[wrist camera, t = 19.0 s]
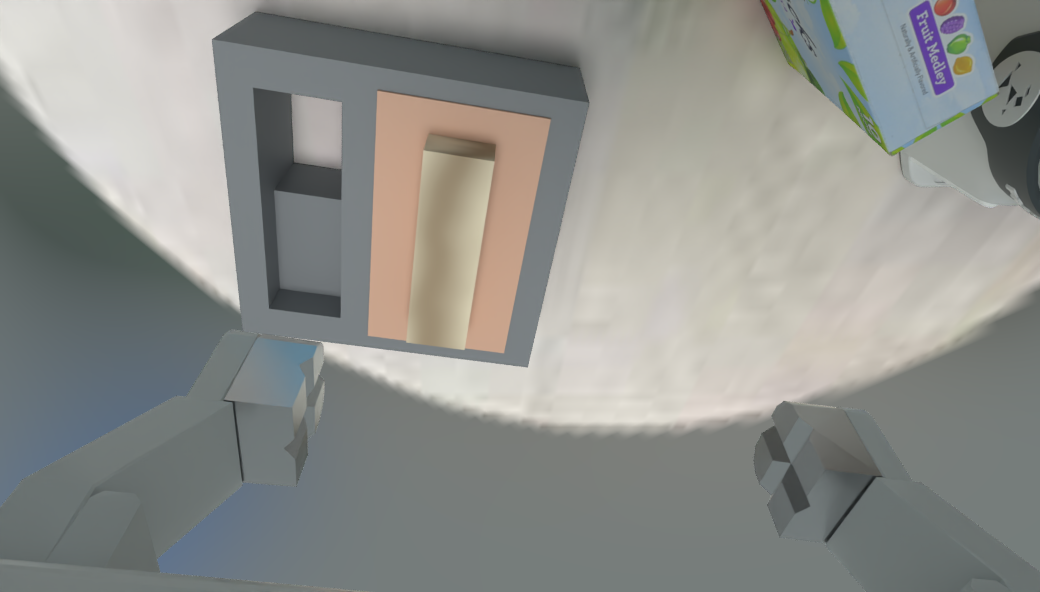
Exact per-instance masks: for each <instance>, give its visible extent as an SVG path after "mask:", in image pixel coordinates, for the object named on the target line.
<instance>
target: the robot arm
mask: <svg viewBox="0 0 1040 592" xmlns="http://www.w3.org/2000/svg"><path fill="white" fill-rule="evenodd" d="M974 1H975V5H976V8H977V12H978V15H979V19H980V23H981V26H982V30H983V34H984V37H985V41H986V45H987V48H988V52H989V56H990V59H991V63H992V66H993V70H994V73H995V77H996V80H997V84H998V87H999V92H1000V94H999V95H998V96H997V97H995V98H994V99H992V100H990V101H988V102H986V103H985V104H983V105H981V106H979V107H977V108H975V109H974V110H972V111H970V112H968V113H967V114H965V115H963V116H962V117H960V118H958V119H956V120H955V121H953V122H951V123H949V124H947V125H946V126H944V127H942V128H940V129H938V130H937V131H935V132H933V133H931V134H930V135H928V136H926V137H925V138H923V139H921V140H919V141H917V142H915V143H914V144H912V145H910V146H908V147H907V148H905V149H903V150H901V151H900V156H901V166H902V171H903V175H904V177H905V178H906V180H908V181H909V182H911V183H912V184H914V185H916V186H918V187H951V186H952V187H953V188H955V189H956V190H958V191H959V192H961V193H963V194H964V195H966V196H967V197H969V198H970V199H972V200H974V201H975V202H977V203H978V204H980V205H983V206H985V207H989V208H994V207H996V206H997V205H1003V206H1015V205H1019V206H1020V207H1022V208H1023V209H1024V210H1025V211H1027V212H1028V213H1030V214H1031V215H1033V216H1034V217H1036V218H1038V219H1040V0H974ZM323 362H324V347H323V344H322V343H321V342H315V341H308V340H302V339H295V338H288V337H282V336H275V335H268V334H258V333H251V332H244V331H237V330H230V331H228V332H227V333H225V334H224V335H223V337H222V338H221V340H220V342H219V344H218V345H217V347H216V348H215V350H214V352H213V353H212V355H211V357H210V358H209V360H208V362H207V363H206V365H205V366H204V368H203V370H202V371H201V373H200V375H199V376H198V378H197V379H196V381H195V383H194V384H193V386H192V388H191V389H190V391H189V393H188V394H187V396H186V397H182V396H176V397H173V398H172V399H170V400H168V401H166V402H164V403H162V404H160V405H159V406H157V407H155V408H153V409H151V410H149V411H148V412H146V413H144V414H142V415H140V416H138V417H136V418H135V419H133V420H131V421H129V422H127V423H125V424H124V425H122V426H120V427H118V428H116V429H114V430H113V431H111V432H109V433H107V434H105V435H103V436H101V437H100V438H98V439H96V440H94V441H92V442H90V443H89V444H87V445H85V446H83V447H81V448H79V449H78V450H76V451H74V452H72V453H70V454H68V455H67V456H65V457H63V458H61V459H59V460H57V461H55V462H54V463H52V464H50V465H48V466H46V467H44V468H43V469H41V470H39V471H37V472H35V473H33V474H31V475H30V476H28V477H26V478H24V479H22V481H21V482H20V483H19V485H18V486H17V487H16V488H15V490H14V491H13V492H12V493H11V495H10V496H9V497H8V498H7V500H6V501H5V502H4V503H3V505H2V506H1V507H0V592H368V591H358V590H357V591H356V590H346V589H335V588H323V587H313V586H302V585H291V584H279V583H269V582H258V581H247V580H234V579H224V578H213V577H202V576H191V575H180V574H168V573H160V570H159V565H158V562H157V559H158V558H159V557H160V556H161V555H162V554H163V553H165V552H166V551H167V550H168V549H169V548H170V547H172V546H173V545H174V544H175V543H176V542H177V541H179V540H180V539H181V538H182V537H183V536H184V535H185V534H187V533H188V532H189V531H190V530H191V529H192V528H194V527H195V526H196V525H197V524H198V523H199V522H201V521H202V520H203V519H204V518H205V517H206V516H208V515H209V514H210V513H211V512H212V511H213V510H215V509H216V508H217V507H218V506H219V505H220V504H222V503H223V502H224V501H225V500H226V499H227V498H229V497H230V496H231V495H232V494H233V493H234V492H236V491H237V490H238V489H239V488H240V487H241V486H242V482H243V483H256V484H269V485H281V486H294V487H295V486H297V484H298V481H299V478H300V475H301V472H302V470H303V467H304V464H305V461H306V458H307V456H308V438H310V437H311V436H313V435H314V434H315V433H316V429H317V426H318V423H319V420H320V416H321V411H322V406H323V399H324V379H323V378H322V377H321V376H320V375H319V373H320V370H321V368H322V365H323ZM772 419H773V422H774V425H775V426H773V427H771V428H770V429H768V430H766V431H765V432H763V433H762V434H761V436H760V438H759V440H758V442H757V444H756V446H755V453H754V468H755V473H756V476H757V479H758V481H759V484H760V485H761V486H762V487H763V488H764V489H765V490H767V492H768V493H769V494H770V495H771V497H770V500H769V502H768V504H767V506H768V508H769V511H770V514H771V516H772V519H773V521H774V524H775V527H776V529H777V532H778V534H779V537H781V538H789V539H796V540H804V541H811V542H819V543H826V545H825V546H826V548H827V549H828V550H829V551H830V552H831V553H832V554H833V555H834V556H835V557H836V559H837V560H838V561H839V562H840V563H841V564H842V565H843V566H844V568H845V569H846V570H847V571H848V572H849V573H850V574H851V575H852V576H853V578H854V579H855V580H856V581H857V582H858V583H859V584H860V585H861V586H862V588H863V589H864V590H865V591H866V592H1040V572H1039V571H1038V570H1037V569H1036V568H1034V567H1033V566H1031V565H1030V564H1029V563H1028V562H1026V561H1025V560H1024V559H1022V558H1021V557H1020V556H1018V555H1017V554H1016V553H1014V552H1013V551H1012V550H1010V549H1009V548H1008V547H1006V546H1005V545H1004V544H1003V543H1001V542H1000V541H998V540H997V539H996V538H994V537H993V536H992V535H991V534H989V533H988V532H987V531H985V530H984V529H983V528H981V527H980V526H979V525H977V524H976V523H975V522H973V521H972V520H971V519H969V518H968V517H967V516H965V515H964V514H963V513H961V512H960V511H959V510H957V509H956V508H955V507H953V506H952V505H951V504H949V503H948V502H947V501H945V500H944V499H942V498H941V497H940V496H939V495H937V494H936V493H935V492H933V491H932V490H931V489H929V488H928V487H927V486H925V485H924V484H923V483H921V482H914V481H912V479H911V478H910V476H909V474H908V473H907V471H906V469H905V468H904V466H903V465H902V463H901V461H900V460H899V458H898V457H897V455H896V453H895V452H894V450H893V449H892V447H891V446H890V444H889V442H888V441H887V439H886V437H885V436H884V434H883V433H882V431H881V429H880V428H879V426H878V425H877V423H876V422H875V420H874V418H873V417H872V416H871V414H869V413H868V412H867V411H865V410H861V409H851V408H842V407H836V408H835V407H829V406H821V405H813V404H805V403H796V402H788V401H783V402H782V403H781V404H779V405H778V406H777V407H776V409H775V411H774V412H773V414H772Z"/></svg>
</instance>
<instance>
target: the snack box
mask: <svg viewBox="0 0 1040 592" xmlns="http://www.w3.org/2000/svg"><path fill="white" fill-rule="evenodd" d="M760 1H761V3H762V5H763V8H764V10H765V12H766V15H767V17H768V19H769V21H770V24H771V26H772V28H773V30H774V33H775V35H776V37H777V40H778V42H779V44H780V47H781V49H782V51H783V53H784V56H785V58H786V60H787V62H788V64H789V65H790V66H792V67H793V68H794V69H796V70H797V71H798V72H799V73H800V74H801V75H803V76H804V77H805V78H806V79H807V80H808V81H809V82H811V83H812V84H813V85H814V86H815V87H816V88H817V89H818V90H819V91H820V92H821V93H823V94H824V95H825V96H826V97H827V98H828V99H830V100H831V101H832V102H833V103H834V104H835V105H836V106H837V107H838V108H839V109H841V110H842V111H843V112H844V113H845V114H846V115H847V116H848V117H849V118H850V119H851V120H852V121H854V122H855V123H856V124H857V125H858V126H859V127H860V128H861V129H862V130H863V131H865V132H866V133H867V134H868V135H869V136H870V137H871V138H872V139H873V140H874V141H875V142H876V143H878V144H879V145H880V146H881V147H882V148H883V149H884V150H885V151H886V152H887V153H888V154H889V155H891V156H893V155H895V154H897V153H898V152H900V151H901V150H903V149H905V148H907V147H908V146H910V145H912V144H914V143H915V142H917V141H919V140H921V139H923V138H925V137H926V136H928V135H930V134H931V133H933V132H935V131H937V130H938V129H940V128H942V127H944V126H946V125H947V124H949V123H951V122H953V121H955V120H956V119H958V118H960V117H962V116H963V115H965V114H967V113H968V112H970V111H972V110H974V109H975V108H977V107H979V106H981V105H983V104H985V103H986V102H988V101H990V100H992V99H994V98H995V97H997V96H998V95H999V94H1000V92H999V87H998V84H997V80H996V77H995V73H994V70H993V66H992V63H991V59H990V56H989V52H988V48H987V45H986V41H985V37H984V34H983V30H982V26H981V23H980V19H979V15H978V12H977V8H976V5H975V1H974V0H760Z"/></svg>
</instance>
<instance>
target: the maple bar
mask: <svg viewBox="0 0 1040 592" xmlns="http://www.w3.org/2000/svg"><path fill="white" fill-rule="evenodd" d="M495 150H496V145H495V144H489V143H483V142H477V141H470V140H464V139H458V138H452V137H446V136H440V135H434V134H428V137H427V140H426V144H425V147H424V150H423V160H422V171H421V183H420V194H419V205H418V216H417V227H416V238H415V250H414V261H413V272H412V283H411V294H410V305H409V317H408V328H407V339H406V342H407V343H414V344H422V345H430V346H437V347H445V348H452V349H460V350H465V344H466V338H467V332H468V325H469V319H470V313H471V307H472V300H473V294H474V288H475V281H476V275H477V269H478V263H479V256H480V250H481V244H482V238H483V231H484V225H485V219H486V212H487V206H488V200H489V194H490V187H491V181H492V175H493V169H494V162H495Z"/></svg>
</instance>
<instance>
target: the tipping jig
mask: <svg viewBox="0 0 1040 592" xmlns="http://www.w3.org/2000/svg"><path fill="white" fill-rule="evenodd" d="M212 45H213V54H214V64H215V73H216V83H217V92H218V102H219V111H220V121H221V130H222V140H223V149H224V158H225V168H226V177H227V187H228V196H229V206H230V215H231V225H232V234H233V244H234V253H235V263H236V272H237V281H238V291H239V300H240V310H241V319H242V329H243V331H244V332H252V333H260V334H268V335H276V336H284V337H291V338H299V339H307V340H315V341H323V342H331V343H339V344H347V345H355V346H363V347H371V348H378V349H386V350H394V351H402V352H410V353H418V354H426V355H434V356H442V357H450V358H458V359H465V360H473V361H481V362H489V363H497V364H505V365H513V366H521V367H528V364H529V359H530V355H531V351H532V347H533V342H534V338H535V334H536V329H537V325H538V321H539V316H540V312H541V308H542V304H543V299H544V295H545V291H546V286H547V282H548V278H549V273H550V269H551V265H552V261H553V256H554V252H555V248H556V243H557V239H558V235H559V231H560V226H561V222H562V218H563V213H564V209H565V205H566V200H567V196H568V192H569V188H570V183H571V179H572V175H573V170H574V166H575V162H576V158H577V153H578V149H579V145H580V140H581V136H582V132H583V127H584V123H585V119H586V115H587V110H588V106H589V100H588V96H587V93H586V89H585V85H584V82H583V78H582V74H581V70H580V68H577V67H571V66H565V65H559V64H554V63H548V62H542V61H536V60H530V59H525V58H519V57H513V56H507V55H502V54H496V53H490V52H484V51H479V50H473V49H467V48H461V47H456V46H450V45H444V44H438V43H432V42H427V41H421V40H415V39H409V38H404V37H398V36H392V35H386V34H381V33H375V32H369V31H363V30H358V29H352V28H346V27H340V26H335V25H329V24H323V23H317V22H311V21H306V20H300V19H294V18H288V17H283V16H277V15H271V14H265V13H260V12H254V13H253V14H251V15H250V16H248V17H246V18H245V19H243V20H242V21H240V22H239V23H237V24H235V25H234V26H232V27H231V28H229V29H227V30H226V31H224V32H223V33H221V34H220V35H218V36H216V37H215V38H213V39H212ZM291 94H296V95H302V96H309V97H315V98H321V99H327V100H333V101H339V102H342V170H338V169H331V168H325V167H318V166H311V165H305V164H298V163H294V162H293V136H292V111H291ZM428 134H434V135H440V136H446V137H452V138H458V139H464V140H470V141H477V142H483V143H489V144H495V145H496V150H495V162H494V169H493V175H492V181H491V187H490V194H489V200H488V206H487V212H486V219H485V225H484V231H483V238H482V244H481V250H480V256H479V263H478V269H477V275H476V281H475V288H474V294H473V300H472V307H471V313H470V319H469V325H468V332H467V338H466V344H465V350H460V349H452V348H445V347H437V346H430V345H422V344H414V343H407V342H406V339H407V328H408V317H409V305H410V294H411V283H412V272H413V261H414V250H415V238H416V227H417V216H418V205H419V194H420V183H421V171H422V160H423V150H424V147H425V144H426V140H427V137H428Z"/></svg>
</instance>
